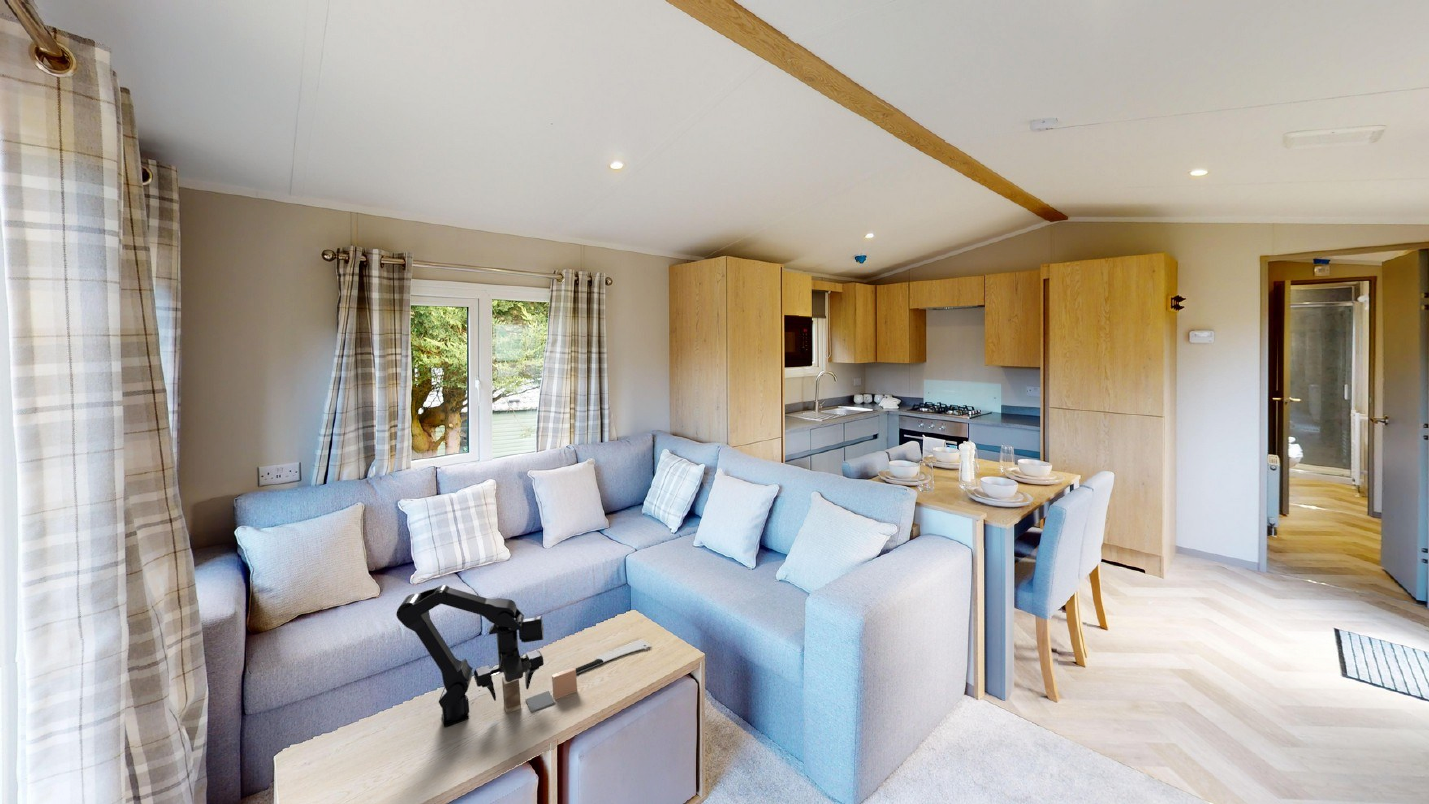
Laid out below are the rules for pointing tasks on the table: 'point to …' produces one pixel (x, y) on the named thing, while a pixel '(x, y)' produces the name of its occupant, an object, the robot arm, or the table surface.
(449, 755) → the table surface
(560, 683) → the tile
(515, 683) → the wooden post stub
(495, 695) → the robot arm
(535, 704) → the pad
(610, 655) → the kitchen cleaver
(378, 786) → the table surface
